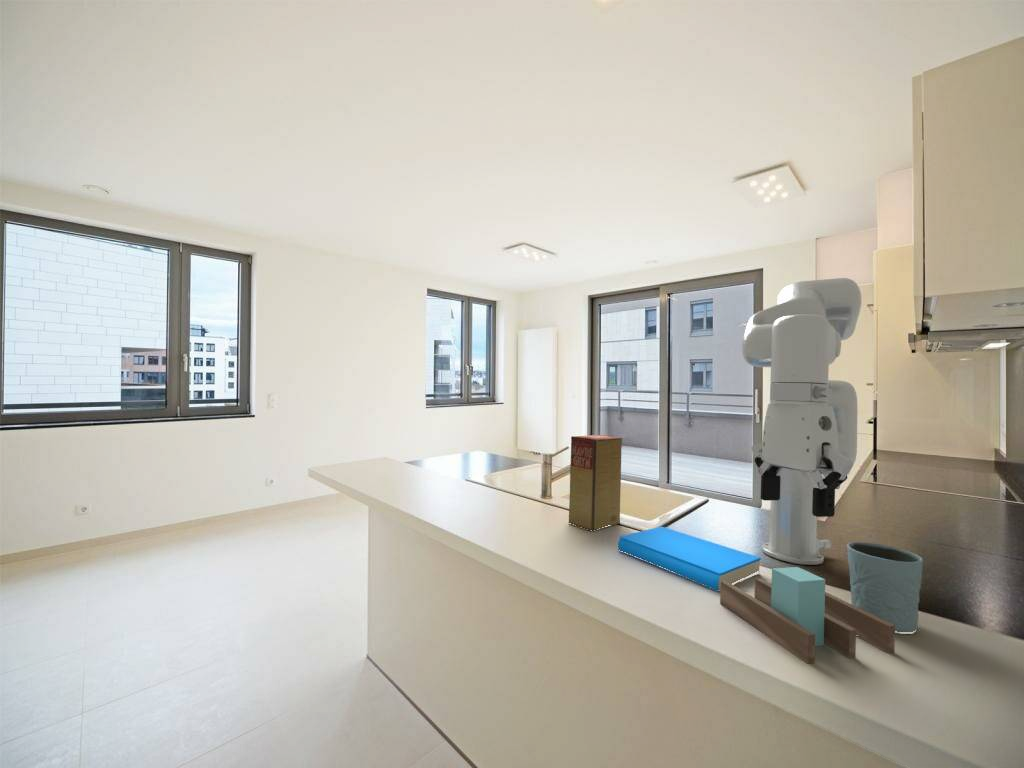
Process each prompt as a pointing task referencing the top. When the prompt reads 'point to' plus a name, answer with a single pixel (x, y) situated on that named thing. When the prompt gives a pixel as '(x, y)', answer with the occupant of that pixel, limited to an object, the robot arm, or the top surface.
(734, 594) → the slot rack
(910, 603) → the blue plant pot
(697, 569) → the book
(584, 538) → the top surface
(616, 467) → the food packaging
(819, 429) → the robot arm
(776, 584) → the block
